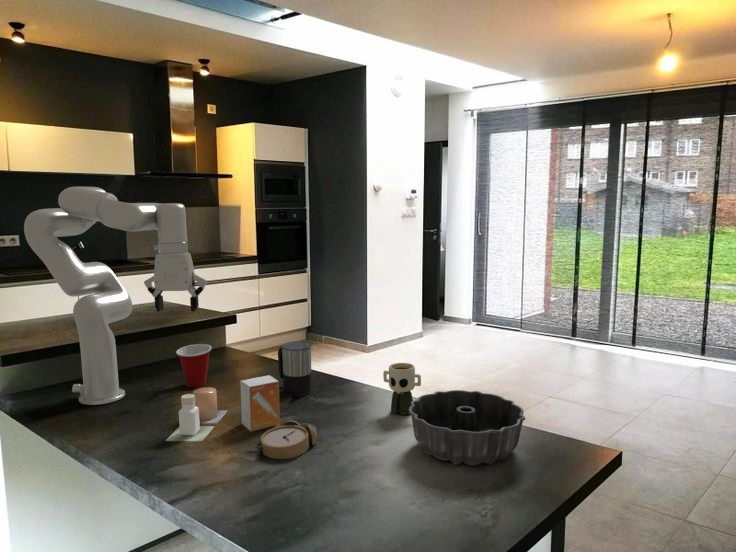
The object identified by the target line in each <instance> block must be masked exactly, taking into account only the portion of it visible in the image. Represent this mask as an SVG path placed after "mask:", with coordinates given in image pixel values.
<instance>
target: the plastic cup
mask: <svg viewBox="0 0 736 552" xmlns="http://www.w3.org/2000/svg"><path fill="white" fill-rule="evenodd" d="M211 350H212V346H211V345H210V344H206V343H205V344H204V343H199V344H195V343H194V344H189V345H185V346H182V347H180V348H179V349H177V350H176V351H175V352H176V355H178V358H179V361H180V363H181V367H182V372H183V375H184V379H185V384H186V386H187V387H188V388H202V387H203V386H206V383H207V376H208V371H209V360H210V354H211Z"/></svg>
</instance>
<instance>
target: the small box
mask: <svg viewBox="0 0 736 552" xmlns="http://www.w3.org/2000/svg"><path fill="white" fill-rule="evenodd" d="M239 383H240V405H241V407H240V409H241V411H240V412H241V425H242V426H244V427H245V428H246V429H247V430H249V431H250V432H253V431H254V432H255V431H257V430H258V431H260V430H262V429H266V428H270V427H274V428H275V427H279V426H281V414H280V409H281V407H280V389H279V387H280V383H279V380H277V379H276V378H275V377H273V376H272V375H270V374H269V375H264V376H263V375H262V376H257V377H252V378H249V379H243V380H240V381H239Z"/></svg>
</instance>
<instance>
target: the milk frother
mask: <svg viewBox="0 0 736 552" xmlns="http://www.w3.org/2000/svg"><path fill="white" fill-rule="evenodd" d="M312 346H313V344H312V343H310V342H308V341H289V342H285V343H282V344H281V346H280V347H279V348H278V351H277V361H278V363H277V364H278V373H279V378H280V379H281V380H282V379H283V380H282V381H283V383H282V384H283V386H282V387H280V386H279V390H282V393H293V394H292V397H295V398H296V397H297V398H298V397H303V396H309V395H310V394H312V393H313V392H314V391H313V385H312V383H313V382H312Z"/></svg>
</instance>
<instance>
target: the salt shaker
mask: <svg viewBox="0 0 736 552" xmlns="http://www.w3.org/2000/svg"><path fill="white" fill-rule="evenodd" d="M180 400H181V402H180V403H181V408H180V409H179V410H178V422H179V423H178V424H179V426H180V435H191V436H194V435H196V433H197V432H198V431H199V430H200V426H201V425H200V424H201V423H200V421H199V408H198V407H196V406H195V395H193V393H187V394H186V393H185V394H183V395H181V398H180ZM179 426H178V427H179Z"/></svg>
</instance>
